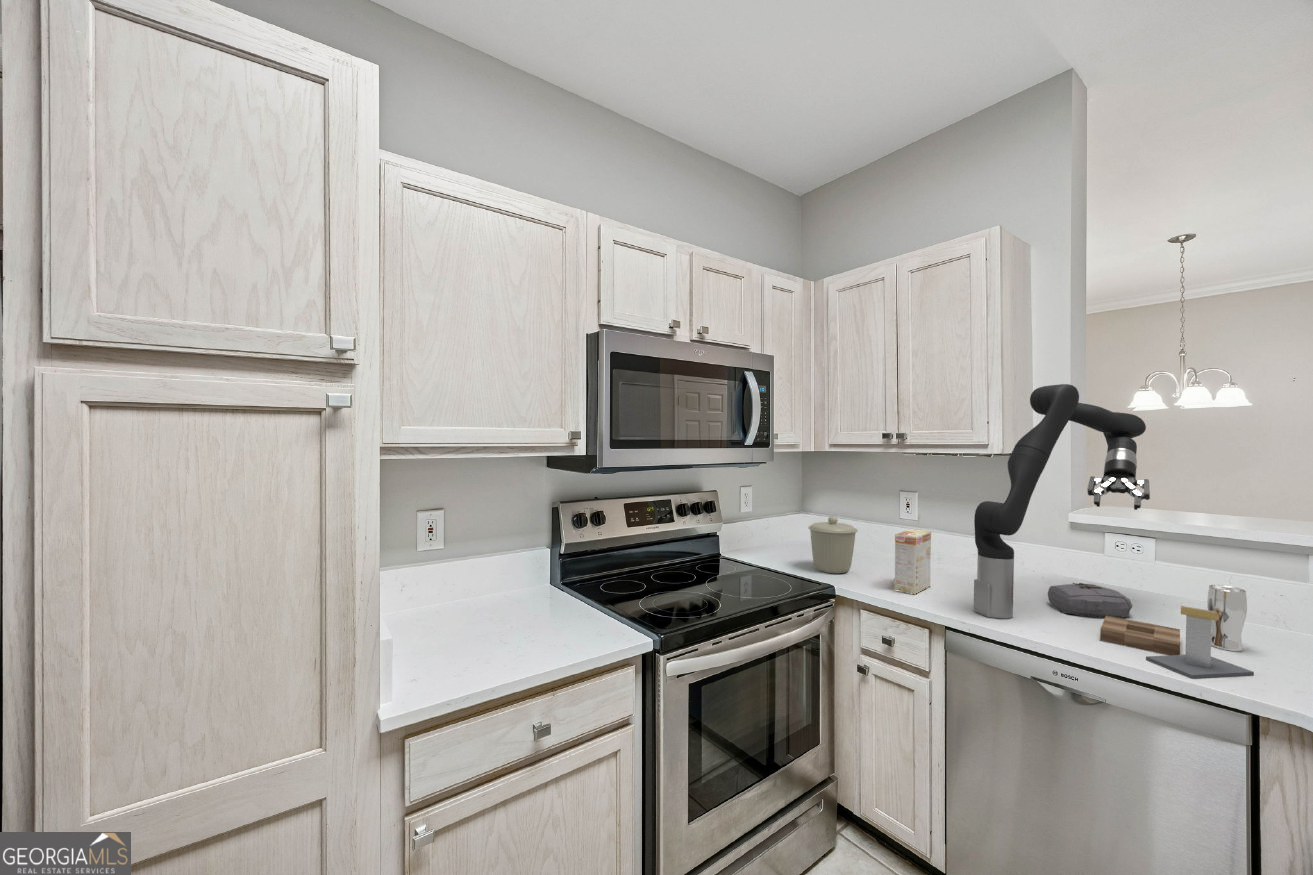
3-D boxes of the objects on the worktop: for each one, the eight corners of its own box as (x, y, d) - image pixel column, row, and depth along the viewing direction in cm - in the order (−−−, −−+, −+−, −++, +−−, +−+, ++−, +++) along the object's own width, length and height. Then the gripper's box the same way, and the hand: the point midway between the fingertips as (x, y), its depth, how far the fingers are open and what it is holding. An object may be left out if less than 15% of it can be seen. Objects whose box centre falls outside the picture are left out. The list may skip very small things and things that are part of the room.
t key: (1215, 664, 126) (1216, 610, 126) (1216, 670, 123) (1218, 614, 123) (1179, 657, 130) (1180, 604, 130) (1179, 662, 127) (1181, 608, 127)
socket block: (1179, 657, 132) (1180, 644, 132) (1100, 640, 142) (1100, 628, 142) (1179, 640, 143) (1179, 629, 143) (1105, 626, 153) (1105, 615, 153)
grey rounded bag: (1069, 618, 160) (1145, 622, 157) (1069, 589, 160) (1146, 593, 157) (1041, 602, 175) (1110, 606, 172) (1041, 576, 175) (1111, 579, 172)
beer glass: (1198, 641, 142) (1200, 584, 142) (1222, 641, 143) (1224, 584, 143) (1228, 652, 135) (1230, 592, 135) (1254, 652, 136) (1255, 592, 136)
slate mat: (1192, 678, 120) (1192, 674, 120) (1145, 659, 130) (1145, 656, 130) (1253, 675, 123) (1253, 671, 123) (1203, 657, 132) (1203, 653, 132)
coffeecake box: (910, 582, 196) (911, 528, 196) (931, 586, 191) (932, 531, 191) (893, 590, 185) (894, 533, 185) (915, 595, 180) (916, 536, 180)
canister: (798, 569, 213) (799, 515, 213) (824, 562, 225) (825, 511, 224) (840, 579, 199) (841, 521, 199) (865, 571, 211) (866, 517, 211)
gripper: (1090, 456, 172) (1085, 496, 164) (1151, 458, 162) (1148, 500, 154) (1091, 472, 176) (1086, 512, 168) (1151, 475, 166) (1149, 517, 158)
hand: (1116, 506), depth 161 cm, fingers open, 8 cm apart
